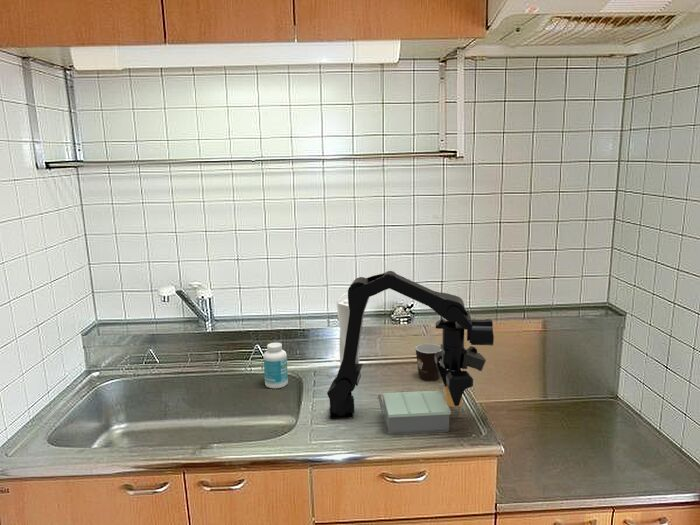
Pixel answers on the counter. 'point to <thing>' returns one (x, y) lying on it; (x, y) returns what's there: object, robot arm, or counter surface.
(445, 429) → the parts tub
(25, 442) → the counter surface
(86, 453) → the counter surface
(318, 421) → the counter surface
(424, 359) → the coffee mug
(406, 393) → the lid
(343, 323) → the skyscraper
